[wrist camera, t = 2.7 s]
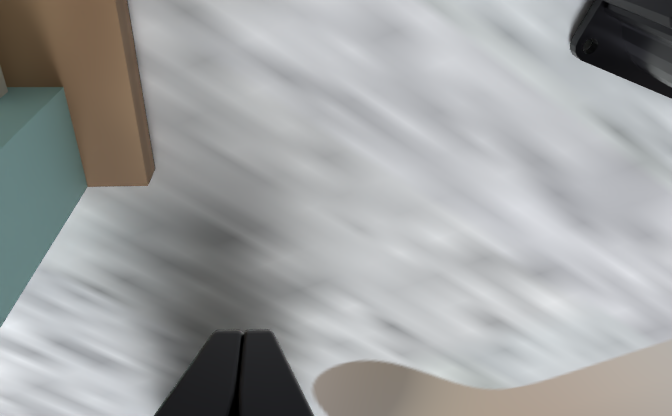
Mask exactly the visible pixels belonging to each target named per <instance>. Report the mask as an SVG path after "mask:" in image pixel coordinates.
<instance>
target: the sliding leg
mask: <svg viewBox="0 0 672 416" xmlns="http://www.w3.org/2000/svg"><path fill="white" fill-rule="evenodd" d="M87 187H88V186H87V182H86V178H85V174H84V170H83V166H82V162H81V157H80V153H79V149H78V145H77V141H76V137H75V133H74V129H73V125H72V121H71V116H70V112H69V108H68V104H67V100H66V96H65V92H64V88H63V87H7V86H6V83H5V79H4V76H3V73H2V69H1V66H0V327H1V326H2V324H3V322H4V321H5V319H6V318H7V316H8V314H9V313H10V311H11V310H12V308H13V306H14V305H15V303H16V301H17V300H18V298H19V297H20V295H21V293H22V292H23V290H24V289H25V287H26V285H27V284H28V282H29V280H30V279H31V277H32V276H33V274H34V272H35V271H36V269H37V268H38V266H39V264H40V263H41V261H42V259H43V258H44V256H45V255H46V253H47V251H48V250H49V248H50V247H51V245H52V243H53V242H54V240H55V238H56V237H57V235H58V234H59V232H60V230H61V229H62V227H63V226H64V224H65V222H66V221H67V219H68V217H69V216H70V214H71V213H72V211H73V209H74V208H75V206H76V205H77V203H78V201H79V200H80V198H81V196H82V195H83V193H84V192H85V190H86V188H87Z"/></svg>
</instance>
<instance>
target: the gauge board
mask: <svg viewBox="0 0 672 416" xmlns="http://www.w3.org/2000/svg"><path fill="white" fill-rule="evenodd" d="M0 66H1V69H2V73H3V76H4V79H5V83H6V86H7V87H63V88H64V92H65V96H66V100H67V104H68V108H69V112H70V116H71V121H72V125H73V129H74V133H75V137H76V141H77V145H78V149H79V153H80V157H81V162H82V166H83V170H84V174H85V178H86V182H87V186H88V187H101V186H148V184H149V182H150V180H151V178H152V175H153V173H154V171H155V167H154V161H153V155H152V149H151V143H150V137H149V131H148V124H147V118H146V112H145V106H144V100H143V94H142V88H141V82H140V76H139V70H138V64H137V58H136V52H135V46H134V40H133V34H132V28H131V22H130V16H129V10H128V4H127V0H0Z"/></svg>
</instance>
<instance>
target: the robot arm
mask: <svg viewBox="0 0 672 416" xmlns="http://www.w3.org/2000/svg"><path fill="white" fill-rule="evenodd" d="M591 38H592V44H591V46H590V47H589V48H588V49H587V50H584V51H583V45H584V43H585V42H586V41H587V40H589V39H591ZM570 50H571V52H572V54H573V55H574V56H576V57H577V58H579V59H580V60H582V61H584V62H586V63H589V64H591V65H594V66H596V67H598V68H601V69H603V70H605V71H608V72H610V73H612V74H615V75H617V76H620V77H622V78H624V79H627V80H629V81H631V82H634V83H636V84H638V85H641V86H643V87H646V88H648V89H650V90H653V91H655V92H657V93H660V94H662V95H664V96H667V97H669V98H672V0H595V1H594V3H593V4H592V6H591V8H590V9H589V11H588V13H587V14H586V16H585V18H584V20H583V21H582V23H581V25H580V26H579V28H578V30H577V31H576V33H575V35H574V36H573V38H572V40H571V43H570ZM154 416H314V414H313V412H312V410H311V408H310V406H309V404H308V402H307V400H306V398H305V396H304V394H303V392H302V390H301V388H300V386H299V384H298V382H297V380H296V378H295V376H294V374H293V372H292V370H291V368H290V366H289V363H288V361H287V359H286V357H285V355H284V353H283V351H282V349H281V347H280V345H279V343H278V341H277V339H276V337H275V335H274V333H273V332H272V331H271V330H268V329H265V330H246V331H245V332H244V335H243V332H242V331H241V330H217V331H215V332H214V333H213V334H212V335H211V336H210V338H209V339H208V341H207V342H206V343H205V345H204V346H203V348H202V349H201V350H200V352H199V353H198V355H197V356H196V357H195V359H194V360H193V362H192V363H191V364H190V366H189V367H188V369H187V370H186V371H185V373H184V374H183V376H182V377H181V378H180V380H179V381H178V383H177V384H176V385H175V387H174V388H173V390H172V391H171V392H170V394H169V395H168V397H167V398H166V399H165V401H164V402H163V404H162V405H161V406H160V408H159V409H158V411H157V412H156V413H155V415H154Z"/></svg>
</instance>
